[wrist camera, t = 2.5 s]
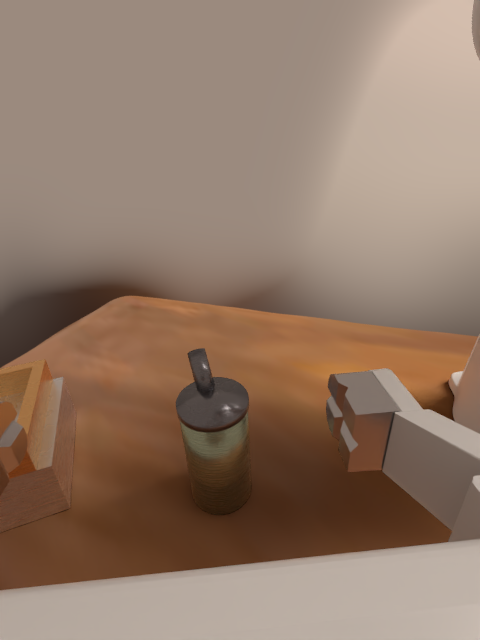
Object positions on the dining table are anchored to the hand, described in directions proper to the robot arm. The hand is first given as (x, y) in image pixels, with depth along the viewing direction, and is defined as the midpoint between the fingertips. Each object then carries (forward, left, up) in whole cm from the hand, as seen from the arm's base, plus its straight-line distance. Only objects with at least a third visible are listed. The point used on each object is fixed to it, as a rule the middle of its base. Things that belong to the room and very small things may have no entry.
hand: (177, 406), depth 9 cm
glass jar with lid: (-4, -12, -19) cm, 23 cm away
